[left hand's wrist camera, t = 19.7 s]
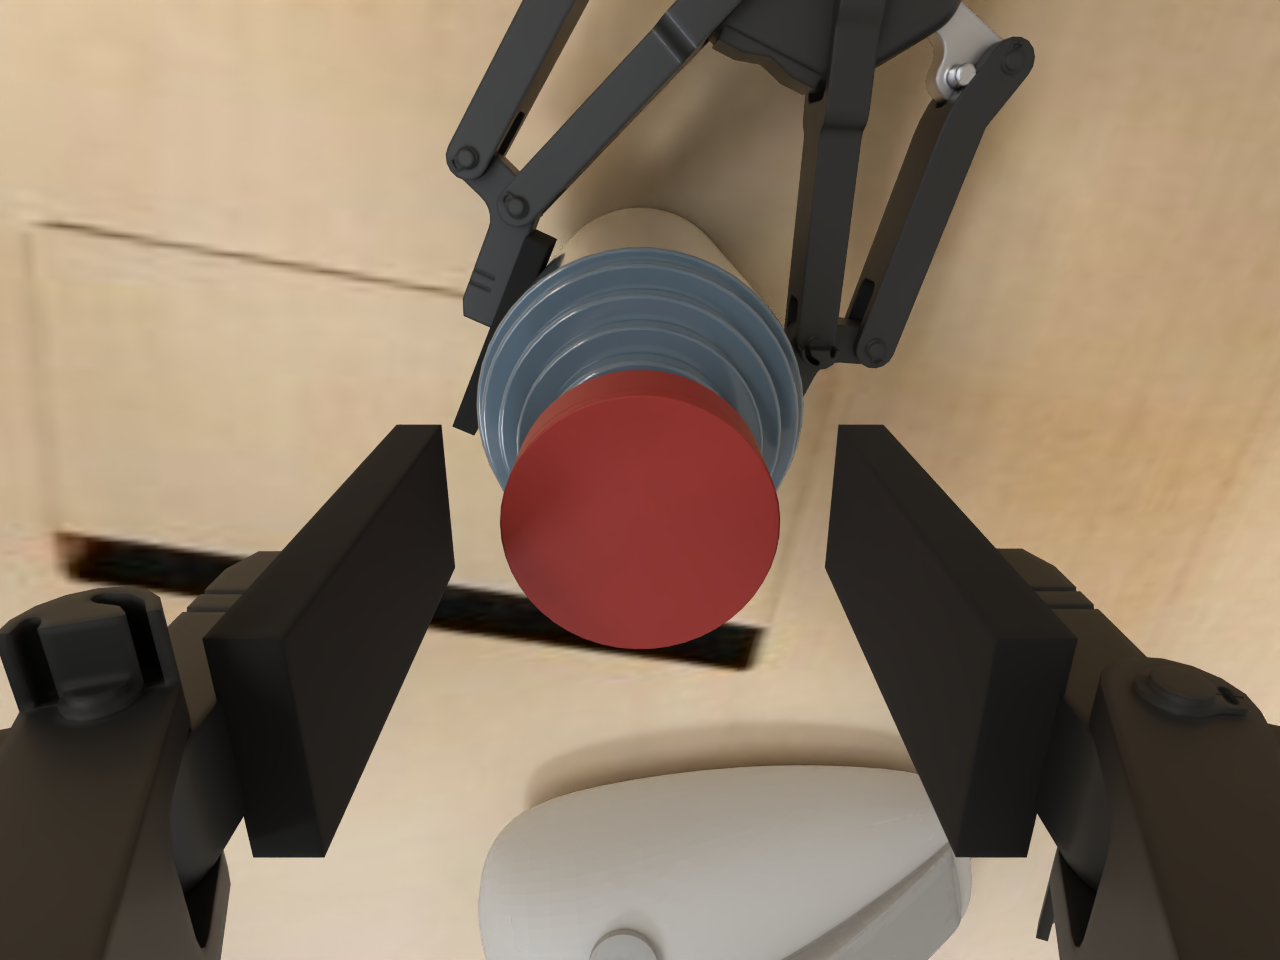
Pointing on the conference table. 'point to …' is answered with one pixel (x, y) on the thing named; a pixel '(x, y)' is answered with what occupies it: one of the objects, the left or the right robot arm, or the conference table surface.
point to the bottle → (640, 333)
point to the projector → (727, 870)
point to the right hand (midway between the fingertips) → (582, 464)
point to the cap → (640, 511)
